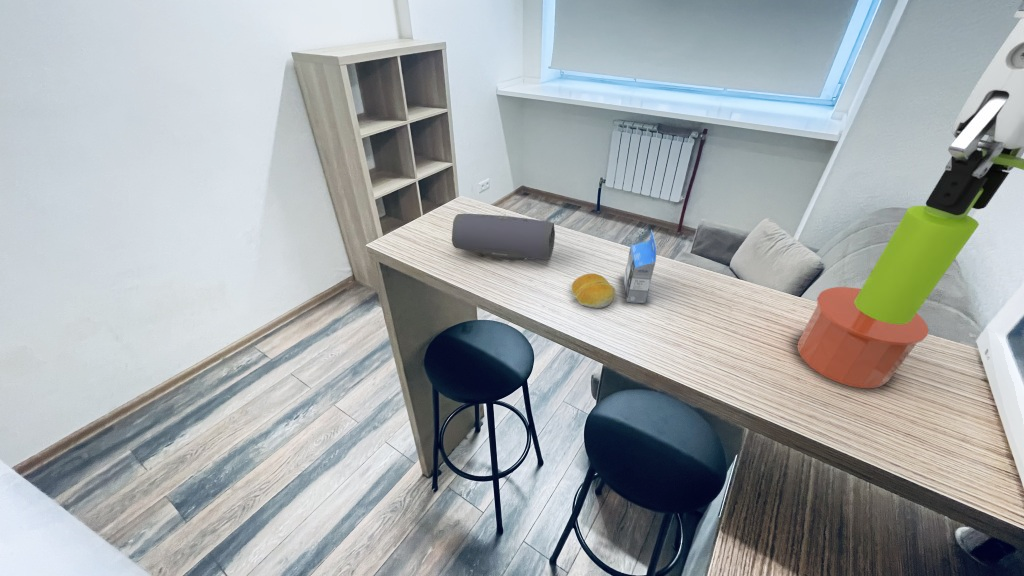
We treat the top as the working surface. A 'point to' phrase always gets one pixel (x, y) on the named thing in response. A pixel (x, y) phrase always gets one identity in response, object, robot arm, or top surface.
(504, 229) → the bluetooth speaker
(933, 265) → the soap dispenser
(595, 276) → the bread roll
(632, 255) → the label tape box
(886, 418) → the top surface
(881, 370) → the pot
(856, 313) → the pot lid
